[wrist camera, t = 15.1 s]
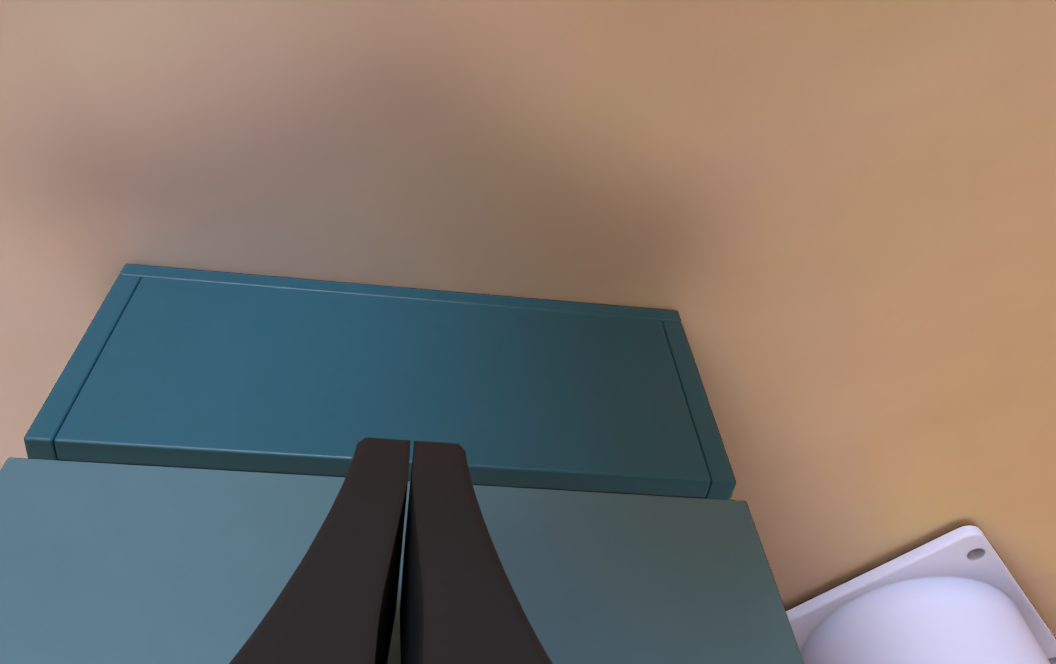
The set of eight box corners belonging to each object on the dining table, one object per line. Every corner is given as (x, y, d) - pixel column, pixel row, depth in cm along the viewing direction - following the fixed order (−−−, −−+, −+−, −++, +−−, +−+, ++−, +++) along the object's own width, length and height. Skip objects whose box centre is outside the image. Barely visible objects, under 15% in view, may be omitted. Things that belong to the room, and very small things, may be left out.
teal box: (125, 262, 21) (4, 470, 15) (678, 309, 23) (748, 513, 17) (173, 646, 29) (104, 876, 23) (581, 661, 30) (607, 878, 25)
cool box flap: (11, 474, 16) (7, 456, 15) (741, 515, 17) (747, 500, 17) (-243, 908, 10) (-257, 889, 10) (878, 909, 12) (888, 893, 11)
